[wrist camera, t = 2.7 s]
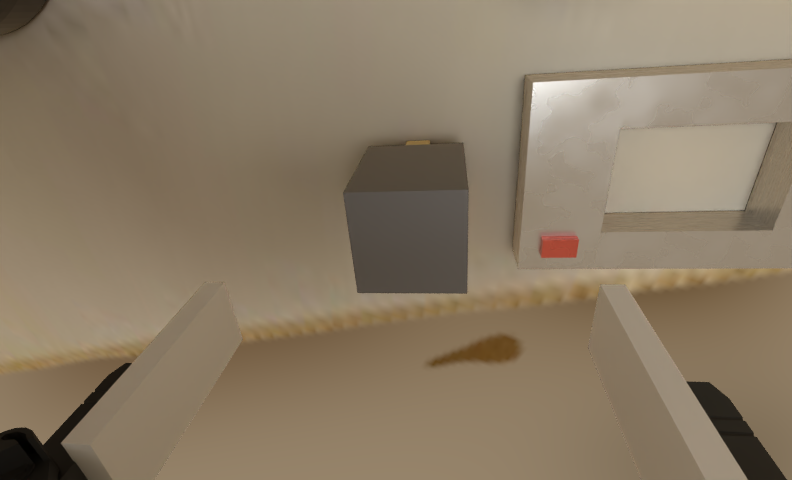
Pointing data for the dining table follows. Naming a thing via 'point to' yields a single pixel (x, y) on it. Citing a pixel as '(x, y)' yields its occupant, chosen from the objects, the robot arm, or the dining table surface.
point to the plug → (409, 219)
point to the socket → (594, 157)
